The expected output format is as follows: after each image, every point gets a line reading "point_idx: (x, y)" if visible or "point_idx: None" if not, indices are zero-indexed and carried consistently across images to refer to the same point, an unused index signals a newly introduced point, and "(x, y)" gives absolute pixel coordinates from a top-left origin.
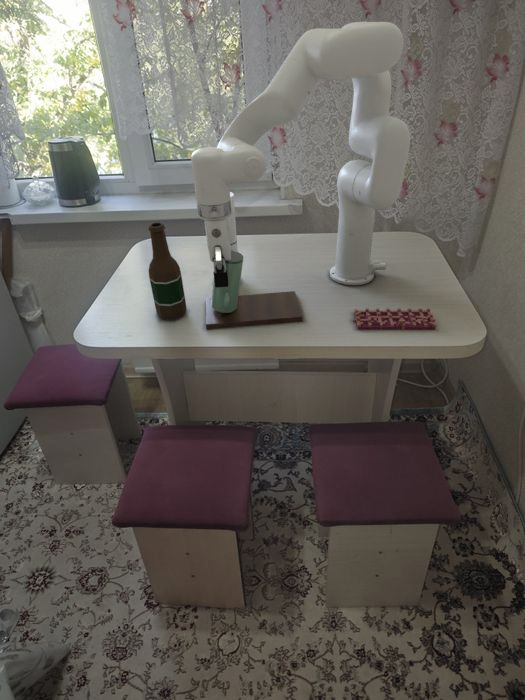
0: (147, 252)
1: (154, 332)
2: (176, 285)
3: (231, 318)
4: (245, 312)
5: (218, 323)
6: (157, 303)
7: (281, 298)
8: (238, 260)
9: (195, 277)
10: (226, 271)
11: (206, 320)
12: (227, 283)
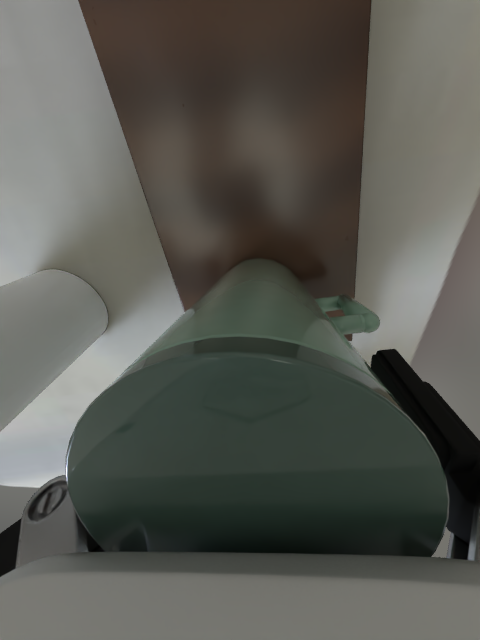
0: (17, 472)
1: None
2: None
3: (330, 269)
4: (293, 219)
5: None
6: None
7: (156, 16)
8: (382, 424)
9: (78, 387)
10: (476, 455)
11: None
12: (404, 364)
